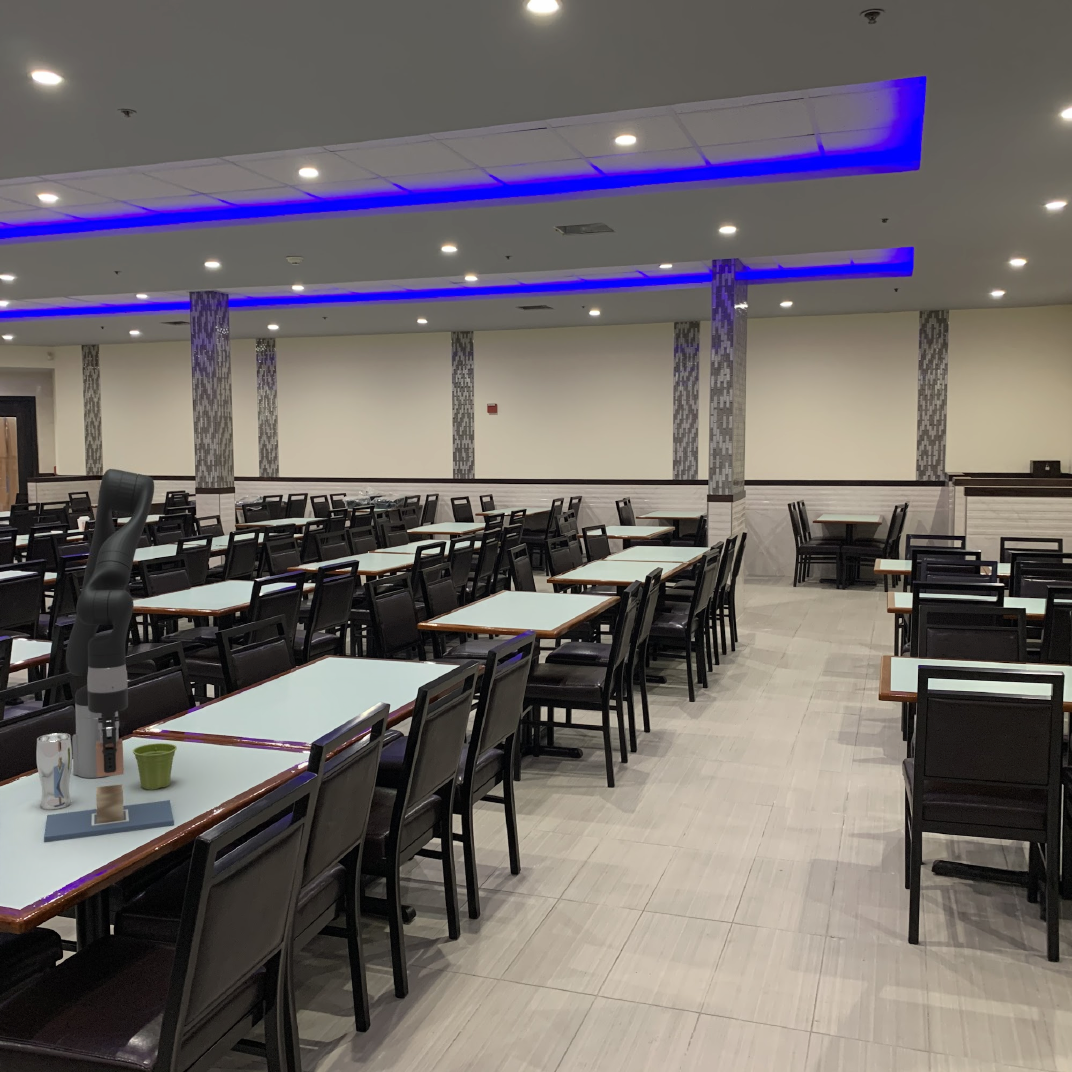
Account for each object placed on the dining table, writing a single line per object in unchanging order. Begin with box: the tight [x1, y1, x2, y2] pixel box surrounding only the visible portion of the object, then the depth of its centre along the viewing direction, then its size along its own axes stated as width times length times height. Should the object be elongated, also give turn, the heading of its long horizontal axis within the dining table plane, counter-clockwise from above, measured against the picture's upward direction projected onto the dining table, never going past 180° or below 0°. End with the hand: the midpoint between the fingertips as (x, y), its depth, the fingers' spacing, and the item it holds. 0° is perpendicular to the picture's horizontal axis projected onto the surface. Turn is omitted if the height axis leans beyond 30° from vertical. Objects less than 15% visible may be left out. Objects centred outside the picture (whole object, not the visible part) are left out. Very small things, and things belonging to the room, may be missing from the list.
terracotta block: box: [96, 738, 124, 778], centre depth 205 cm, size 5×5×6 cm
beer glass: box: [36, 732, 73, 811], centre depth 215 cm, size 7×7×15 cm
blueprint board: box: [43, 799, 175, 843], centre depth 206 cm, size 24×13×1 cm, turn 114°
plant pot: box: [132, 742, 178, 790], centre depth 228 cm, size 9×9×9 cm
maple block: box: [95, 783, 124, 824], centre depth 205 cm, size 5×5×6 cm
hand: (109, 767), depth 205 cm, fingers closed on terracotta block, 5 cm apart
